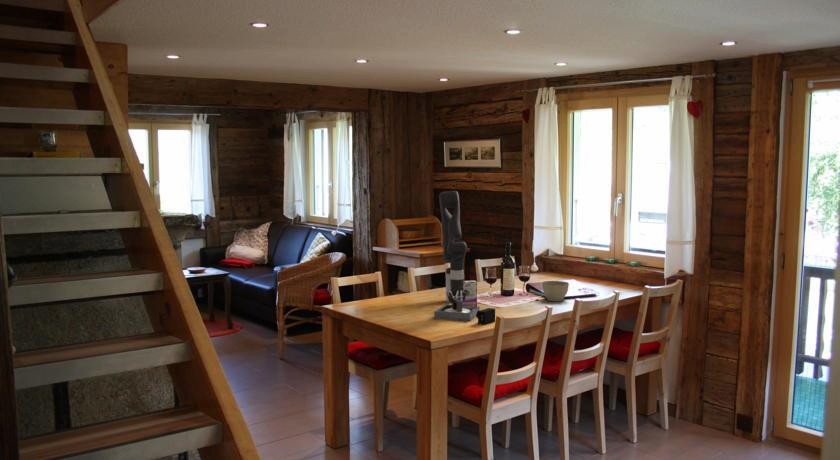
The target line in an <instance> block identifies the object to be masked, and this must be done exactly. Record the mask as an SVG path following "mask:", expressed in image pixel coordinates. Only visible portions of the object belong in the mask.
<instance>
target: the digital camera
mask: <svg viewBox="0 0 840 460" xmlns="http://www.w3.org/2000/svg"><path fill="white" fill-rule="evenodd" d="M475 318H476V319H477V324H478V325H481V326H482V325H483V326H487V325H489V324H493V323H494V322H496V308H490V307H488V308H484V309H480V310H478V311H477V313H476V317H475Z"/></svg>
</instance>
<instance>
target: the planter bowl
mask: <svg viewBox="0 0 840 460" xmlns="http://www.w3.org/2000/svg"><path fill="white" fill-rule="evenodd" d="M569 286H570V283H569V282H567V281H562V280H545V281H542V282H541V287H542V291H543V294H544V295H545V298H546V300H547V301H550V302H562V301H563V300H564V298H566V295H567V293H568V291H569Z"/></svg>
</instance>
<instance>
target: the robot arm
mask: <svg viewBox="0 0 840 460" xmlns="http://www.w3.org/2000/svg"><path fill="white" fill-rule="evenodd" d="M438 195H439V197H438V200H439V206H440V208H439V209H440V214H441V232H442V242H443V245H442V246H443V247H442V248H443V251H442V252H443V253H442V255H443V256H442V257H443V261H444V262H446V263H450V267H448V268H446V269H445V302H446V303H451V305H452V308H453V309H454V310H456V299H457V298H458V299H459V300H461V301H463V300H465V297H466V294H467V290H465V289H464V288H463V286H464V281H465V272H464V267H465V266H464V261H465V257H466V254H467V250H468V249H467V248H468V245H467V243H466V242H465V241H458V240H460V239H461V238H462V235H463V234H462V227H461V209H460V206H461V205H460V195H459V192H458V191H457V190H449V191H448V190H446V191H441V192H440V193H439V194H438ZM447 208H454V210H453V213H452V214H451V213H450V212H449V211H448V209H447ZM463 296H464V297H463Z"/></svg>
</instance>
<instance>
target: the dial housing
mask: <svg viewBox="0 0 840 460" xmlns="http://www.w3.org/2000/svg"><path fill="white" fill-rule="evenodd" d="M450 308H452V304H446V303H445V304H444V305H443V306H441V307H439V308H438V309H436V310H435V311H433V316H434V317H433V318H434V319H435V320H445V321H448V320H449V321H458V322H459V321H460V322H472V320H474V319H475V318H477V317H476V313H477V311H478V310H481V309H480V308H481V307H480V306H478V305H477V306H462V308H464V309H469V310H470V312H469V313H458V312H445V310H446V309H450Z"/></svg>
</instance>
